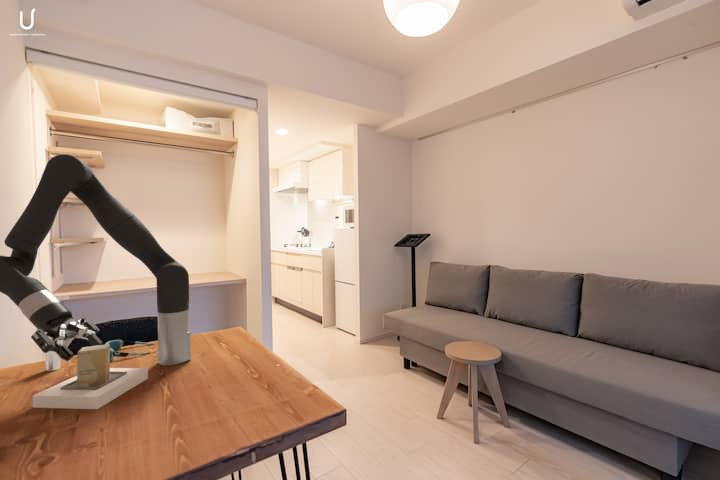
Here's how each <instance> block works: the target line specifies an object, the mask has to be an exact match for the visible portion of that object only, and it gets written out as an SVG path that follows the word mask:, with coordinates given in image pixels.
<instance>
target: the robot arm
mask: <svg viewBox="0 0 720 480" xmlns="http://www.w3.org/2000/svg"><path fill="white" fill-rule="evenodd" d="M70 193H72V195H74V196H75V197H76V198H77V199H79V200H80V201H81V202H82V203H83V204H84V205H85V206H86V207H87V209H89V211H90V213H91V214H92V215H93V217H94V218H95V220H96V221H97V223H98V225H99V226H100V227H101V228H102V229H103V231H104V232H106V234H108V235H109V236H110V237H111V238H112V240H114V241H115V242H116V243H117V244H118V245H119V246H120V247H121V248H123V249H124V250H125V251H126V252H128V253H129V254H131V255H132V256H134V257H135V258H136V259H138V260H139V261H141V262H142V264H143V265H144V266H146V267H147V269H148V270H149V271H150V272H151V273H152V275H153V277H155V278H156V306H157V347H158V348H157V353H158V355H157V356H158V365H160V366H163V367H164V366H165V367H166V366H175V365H179V364H182V363H185V362H188V361H191V360H192V352H191V351H192V350H191V348H192V347H191V344H192V341H191V331H190V311H189V310H190V309H189V307H190V277H189V272H188V270H187V269H186V267H185V266H184V265H182V264H181V263H180V262H178V261H177V260H176V259H174V257H172V256H171V255H170V254H169V253H167V252H166V250H164V248H162V246H161V245H160V244H159V242H158V241H157V239H156V238H155V237H154V235H153V234H152V232H151V231H150V230H149V229H148V228H147V227H146V225H145V224H144V223H143V222H142V221H141V220H140V219H139V218H138V217H137V216H136V215H135V214H134V213H133V212H132V211H131V210H130V209H129V208H128V207H127V206H125V204H123V203H122V201H120V200H119V199H118V198H116V197H115V196H114V195H113V194H112V193H110V191H108V189H106V187H105V185H103V183H102V182H101V181H100V180H99V178H98V177H97V176H96V174H95V173H94V171H93V170H92V169H91V168H90V166H89V165H88V164H87V163H85V161H83V160H82V159H80V158H78V157H76V156H74V155H72V154H68V153H67V154H62V153H61V154H57V155H54V156H53V157H51V158H49V159H48V162H46V165H45V168H44V169H43V172H42V175H41V177H40V180H39V183H38V185H37V187H36V189H35V192H34V193H33V194H32V197H31V199H30V200H29V202H28V204H27V206H26V207H25V208H24V211H22V214H21V215H20V216H19V218H18V219H17V221H16V223H14V225H13V226H12V228H11V230H10V231H9V233H8V234H7V235H6V237H5V239H4V244H5V246H6V247H7V248H10V249H12V251H11V253H10V256H8V255H0V293H2V294H4V295H5V296H7V297H8V298H9V299H10V300H11V301H12V302H13V303H14V304H15V305H16V306H17V308H19V310H20V312H21V313H22V314H23V316H25V318H27V319H28V321H29V322H30V323H31V325H33V326H34V327H35V328H36V331H35V332H34V333H33V334H32V335H30V336H31V337H30V338H31V339H32V340H33V341H34V343H35V345H37V346H38V347H39V349H40V350H41V351H42V352H43V354H44V353H47V352H49V351H53V352H56V353H57V354H58V355H59V356H60V357H61V360H64V361H65V362H68V361H70V360H72V359H73V357H74V356H75V354H74V352H72V350H70V348H68V347H67V345H66V344H64V341H66V340H68V339H69V340H70V339H73V338H75V339H83V340H87V342H88V343H89V345H90V346H96V345H103V341H102V340H101V339H100V337H98V336H97V335H96V334H98V332H99V331H100V328H99V327H98V326H97V325H96V324H94V322H92V320H90V319H89V318H88V316H83V317H81V319H78V320H77V319H75V318H73V312H72V311H71V310H70V309H69V308H68V307H67V306H66V305H65V304H64V303H63V302H62V301H61V300H60V299H59V298H58V297H57V296H56V295H55V294H53V293H52V292H51V291H50V290H49V288H47V287H46V286H45V285H44V284H43V282H41V281H40V280H38V279H37V278H34V277H30V276H29V275H31V273H32V271H34V270H33V269H34V266H35V265H36V264H35V262H36V259H37V256H38V255H37V254H38V251H39V248H40V246H41V245H42V244H43V242H44V240H45V239H46V237H47V235H48V234H49V232H50V231H51V229H52V228H53V225H54V222H55V220H56V218H57V214H58V211H59V210H60V207H61V205H62V203H63V202H64V200H65V199H66V197H67V196H68V195H69V194H70ZM45 343H46V345H47V346H46V345H45Z"/></svg>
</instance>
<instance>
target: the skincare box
mask: <svg viewBox="0 0 720 480" xmlns="http://www.w3.org/2000/svg"><path fill="white" fill-rule="evenodd" d="M110 362H111V360H110V344H107V345H105V344H102V345H96V346H92V345H90V346H84V347H83V346H82V347H81V348H80V349H79V350H78V351H77V367H76V368H77V369H76V370H77V371H76V373H77V375H76V376H77V387H98V386H100V385H102V384H104V383H106V382H108V381H109V377H110V374H109V373H110V368H111V367H110V364H111V363H110Z"/></svg>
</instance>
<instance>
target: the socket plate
mask: <svg viewBox="0 0 720 480" xmlns="http://www.w3.org/2000/svg"><path fill="white" fill-rule="evenodd" d="M109 374H110V377H109V381H108V382H106V383H104V384H102V385H100V386H98V387H77V375H75V376H73V377H71V378H68V379H65V380H64V381H62V382H60V383H57V384H56V385H52V386H51V387H48V388H47V389H44V390H42V391H40V392H38V393H36V394H34V395H32V407H33V408H35V409H37V408H39V409H40V408H41V409H70V410H72V409H75V410H76V409H77V410H79V409H81V410H99V409H100V408H103V406H105V405H107V404H108V403H110V402H112V401H113V400H115V399H116V398H118V397H120V396H121V395H123V394H125V393H127V392H128V391H129V390H131V389H134V387H136V386H139V384H141V383H143V382H145V381H146V380H148V379H149V369H148V368H147V367H144V368H141V367H139V368H138V367H110V373H109Z"/></svg>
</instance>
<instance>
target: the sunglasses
mask: <svg viewBox="0 0 720 480" xmlns="http://www.w3.org/2000/svg"><path fill="white" fill-rule="evenodd" d="M107 344H110V361H113V360H114V358H115V357H121V358H122V357H123V358H126V357H128V356H145V355H149V354H150V352H136V353H135V352H121V351H119V350H121V349H122V346H134V345H147V346H155V344H153V343H150V342H149V343H148V342H143V341H142V342H141V341H130V340H123V339H113V340H109V341H107V342H105V344H104V345H107Z"/></svg>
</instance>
